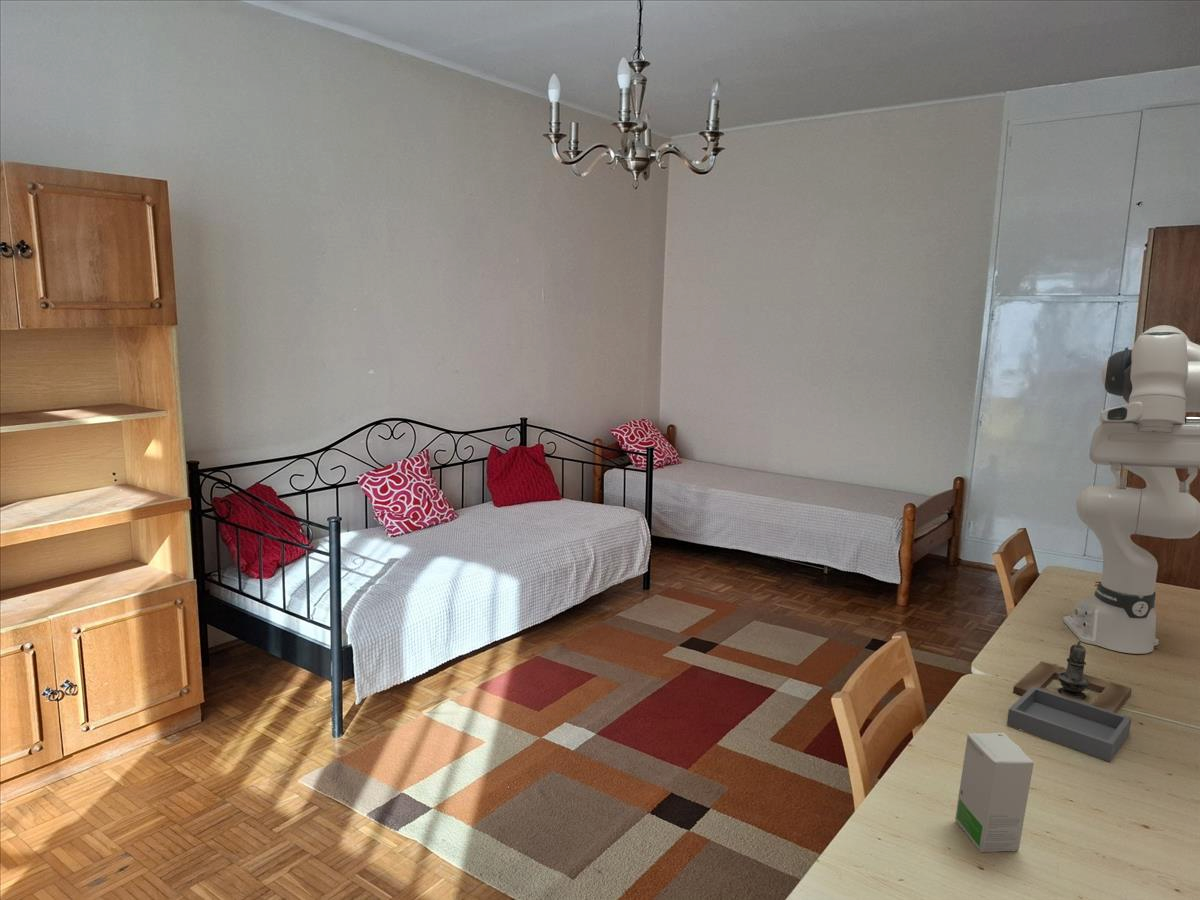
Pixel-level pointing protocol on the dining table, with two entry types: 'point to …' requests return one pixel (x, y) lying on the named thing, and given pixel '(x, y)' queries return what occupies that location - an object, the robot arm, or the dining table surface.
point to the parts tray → (1070, 723)
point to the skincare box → (993, 791)
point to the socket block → (1108, 699)
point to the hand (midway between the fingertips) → (1151, 490)
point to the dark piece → (1074, 674)
